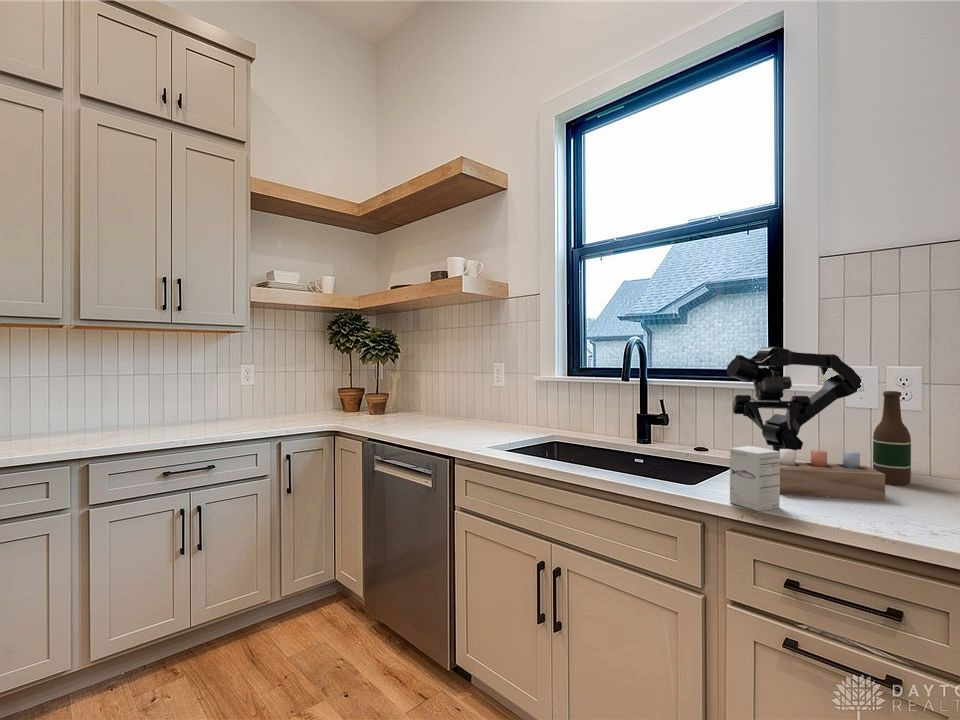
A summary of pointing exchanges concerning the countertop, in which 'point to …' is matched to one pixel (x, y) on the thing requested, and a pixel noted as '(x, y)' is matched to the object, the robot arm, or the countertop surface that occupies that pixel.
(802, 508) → the countertop surface
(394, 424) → the countertop surface
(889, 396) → the beer bottle
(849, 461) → the grey rounded block
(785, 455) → the white key
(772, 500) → the supplement box
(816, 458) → the brick key
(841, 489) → the wooden socket block
